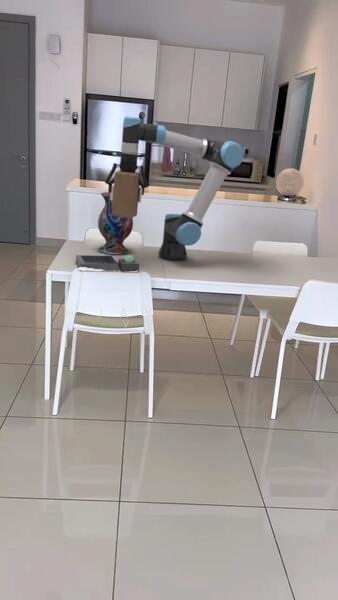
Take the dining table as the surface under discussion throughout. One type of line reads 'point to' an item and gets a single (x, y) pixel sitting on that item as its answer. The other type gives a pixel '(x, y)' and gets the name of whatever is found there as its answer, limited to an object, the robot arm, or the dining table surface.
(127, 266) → the dark grey square block
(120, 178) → the wooden block
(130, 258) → the plunger
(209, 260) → the dining table surface
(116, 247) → the vase
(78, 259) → the dark grey tray
